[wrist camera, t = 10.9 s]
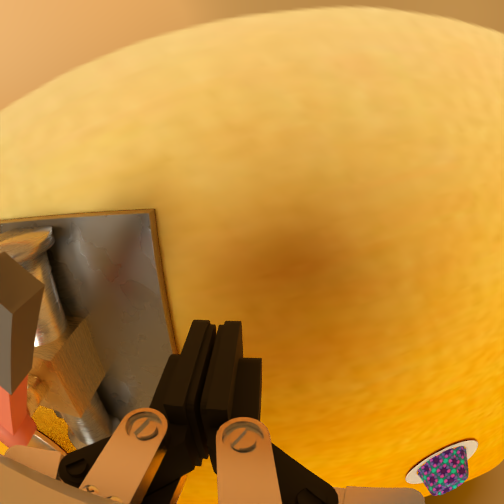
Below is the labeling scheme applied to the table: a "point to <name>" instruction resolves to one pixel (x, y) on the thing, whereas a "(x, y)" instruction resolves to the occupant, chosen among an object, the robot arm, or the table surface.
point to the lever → (17, 348)
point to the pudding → (444, 468)
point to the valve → (94, 315)
